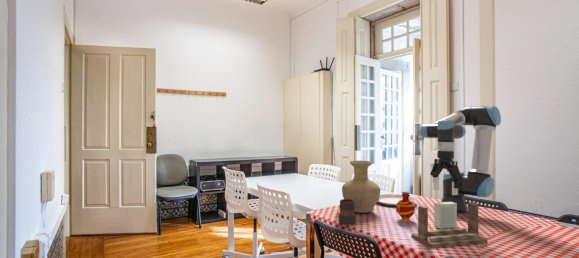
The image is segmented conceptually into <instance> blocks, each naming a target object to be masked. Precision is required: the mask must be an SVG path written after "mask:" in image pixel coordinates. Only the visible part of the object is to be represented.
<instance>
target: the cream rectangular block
mask: <svg viewBox="0 0 579 258" xmlns="http://www.w3.org/2000/svg"><path fill="white" fill-rule="evenodd" d="M433 209H434V210H433V211H434V213H433V215H434V216H433V217H434V219H433V220H434V223H433V224H434V225H433V226H434V227H435V228H437V229H438V230H442V229H454V228H457V227H458V224H457V223H458V222H457V221H458V215H457V214H458V213H457V203H454V202H441V201H440V202H439V201H438V202H433Z"/></svg>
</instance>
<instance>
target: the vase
mask: <svg viewBox="0 0 579 258" xmlns="http://www.w3.org/2000/svg"><path fill="white" fill-rule="evenodd" d="M349 164H350V165H351V166H353V169H354V171H353V178H352V179H351V180H348V181H346V182H345V183H344V184H342V188H341V192H342V198H343V199H351V200H354V202H355V213H359V214H367V213H371V212H373V211H374V208H375V206H376V205H377V203H378V200H379V197H380V195H381V188H380V186H379V185H378V184H377V183H375V182H374V181H372V180H370V179H369V177H368V175H369V174H368V172H369V171H368V169H369V167H370V166H372V164H373V162H372V161H370V160H369V161H368V160H350V161H349Z"/></svg>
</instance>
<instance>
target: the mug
mask: <svg viewBox="0 0 579 258" xmlns="http://www.w3.org/2000/svg"><path fill="white" fill-rule="evenodd" d="M355 213H356V212H355V202H354V200H351V199H344V198H343V199H340V200H339V213H338V221H339V223H340V224H342V225H347V226H352V225H354V224H355V223H356V214H355Z"/></svg>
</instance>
